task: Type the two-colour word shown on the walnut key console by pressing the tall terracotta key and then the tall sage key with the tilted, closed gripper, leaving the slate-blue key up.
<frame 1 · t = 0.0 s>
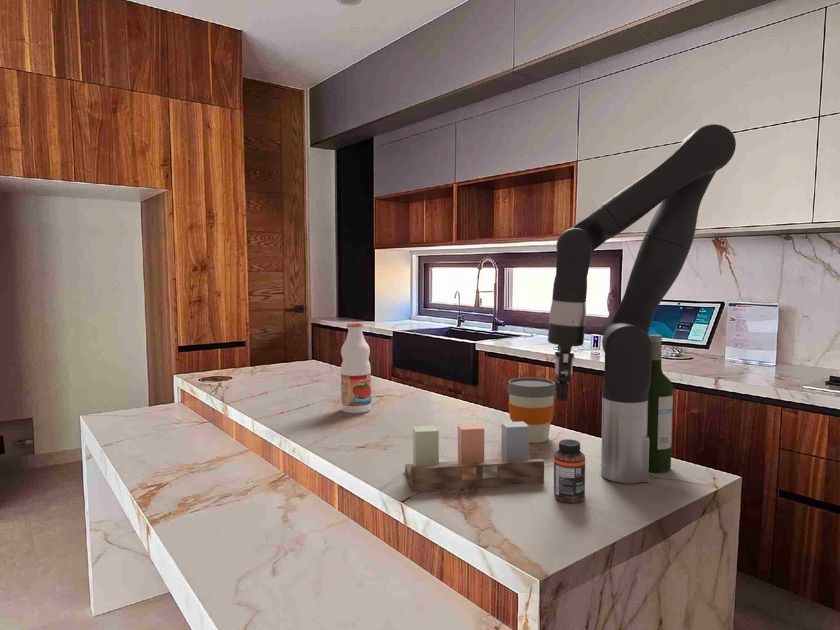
hand: (560, 396, 125), 17 cm above the table, tool pointing down, fingers open, 8 cm apart
reusable coffee cup: (530, 438, 153), on the table
fruit juice: (356, 410, 183), on the table
terracotta key: (470, 446, 126), point 6 cm above the table, slide at 0.0 cm
wine bottle: (651, 468, 130), on the table
slate key: (515, 444, 127), point 6 cm above the table, slide at 0.0 cm
supplement bottle: (569, 499, 113), on the table
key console: (472, 476, 125), on the table
sage key: (425, 449, 124), point 6 cm above the table, slide at 0.0 cm
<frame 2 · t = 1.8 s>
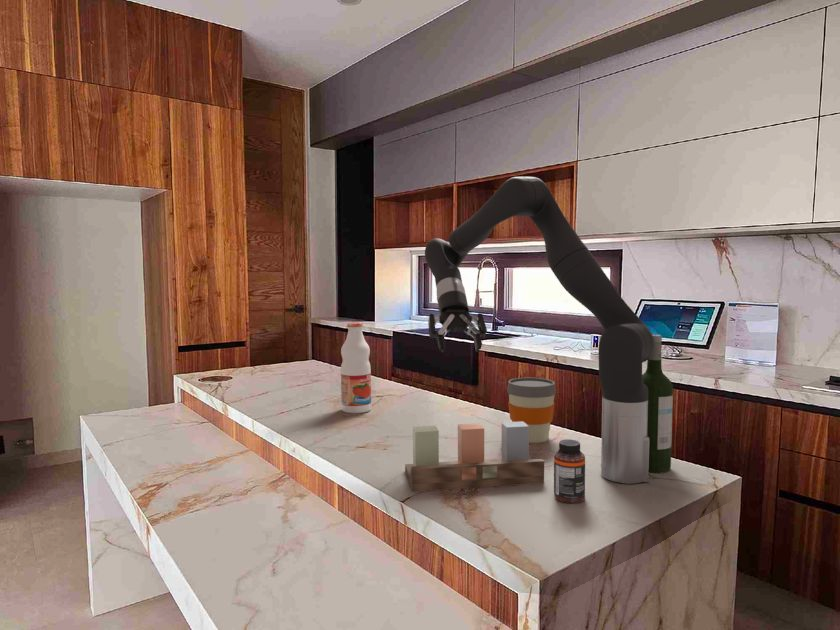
hand: (461, 349, 139), 25 cm above the table, tool tilted 45°, fingers open, 8 cm apart
nothing on the table moved.
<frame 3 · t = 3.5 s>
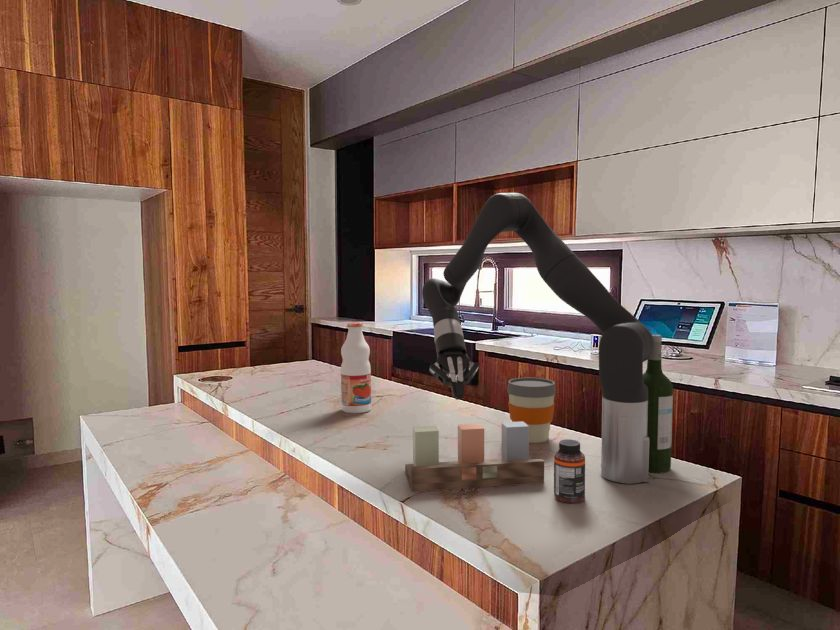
hand: (459, 397, 137), 14 cm above the table, tool tilted 45°, fingers closed
nothing on the table moved.
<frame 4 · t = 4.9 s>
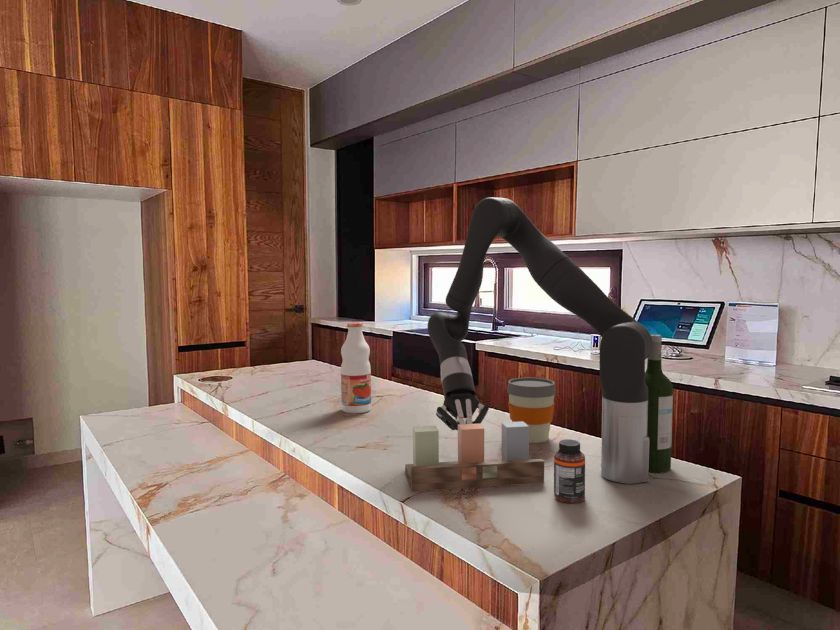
hand: (468, 444, 128), 6 cm above the table, tool tilted 45°, fingers closed
terracotta key: (470, 446, 126), point 6 cm above the table, slide at 0.0 cm, touching gripper
everything else where it was.
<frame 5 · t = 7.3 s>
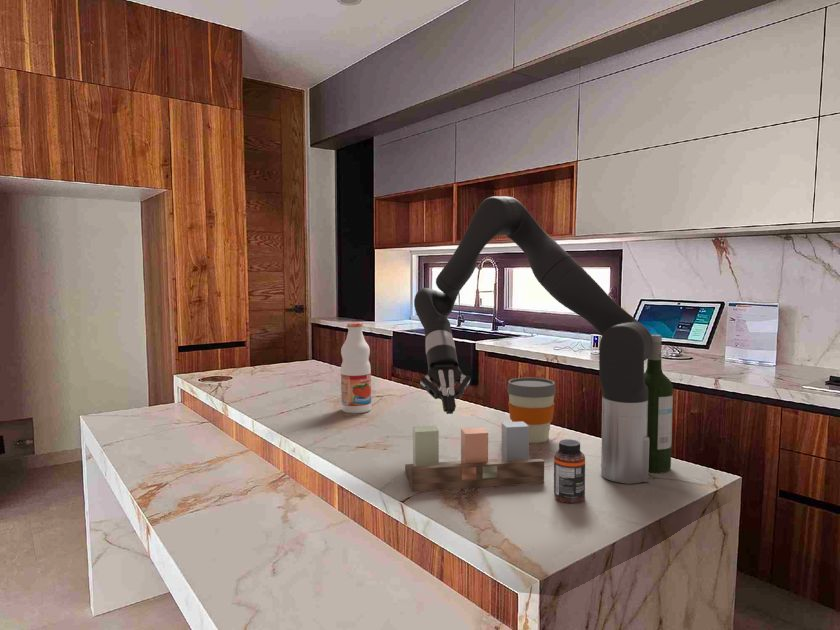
hand: (450, 412, 134), 12 cm above the table, tool tilted 45°, fingers closed
terracotta key: (474, 451, 123), point 6 cm above the table, slide at 3.3 cm
everything else where it was.
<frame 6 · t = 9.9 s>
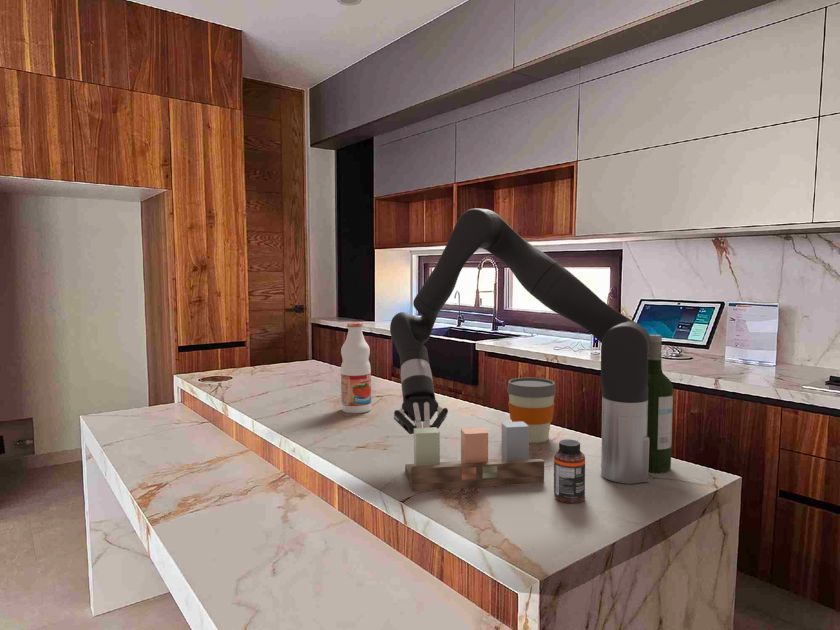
hand: (425, 448, 126), 6 cm above the table, tool tilted 45°, fingers closed
sage key: (426, 450, 123), point 6 cm above the table, slide at 1.3 cm, touching gripper
everything else where it was.
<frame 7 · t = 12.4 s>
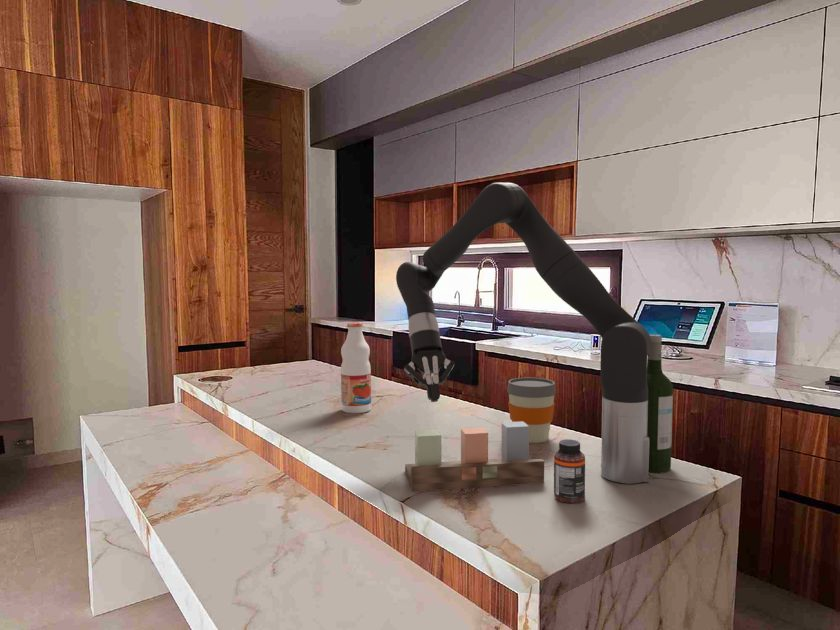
hand: (434, 400, 136), 14 cm above the table, tool tilted 30°, fingers closed
sage key: (428, 453, 121), point 6 cm above the table, slide at 3.2 cm
everything else where it was.
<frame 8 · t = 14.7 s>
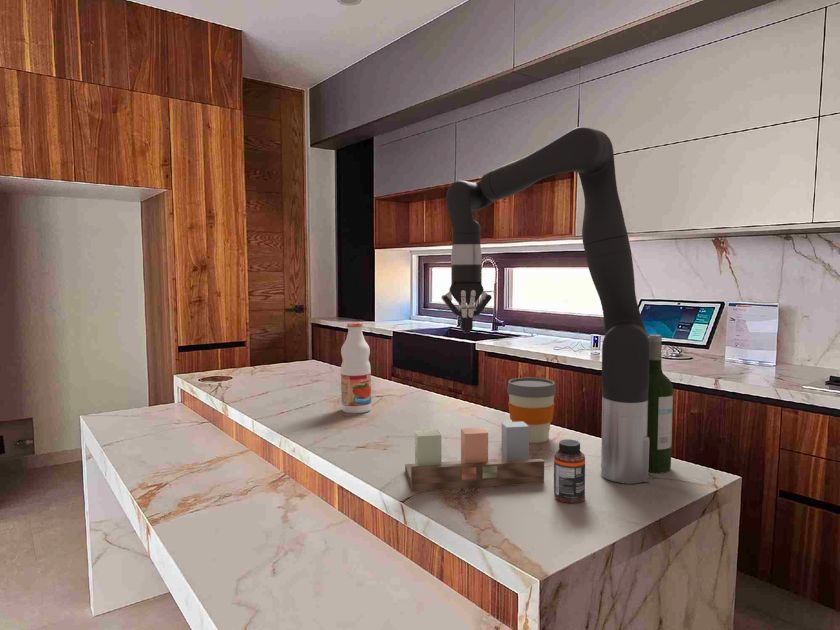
hand: (466, 332, 145), 29 cm above the table, tool pointing down, fingers closed
nothing on the table moved.
at the end: terracotta key slide at 3.3 cm; sage key slide at 3.2 cm; slate key slide at 0.0 cm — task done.
